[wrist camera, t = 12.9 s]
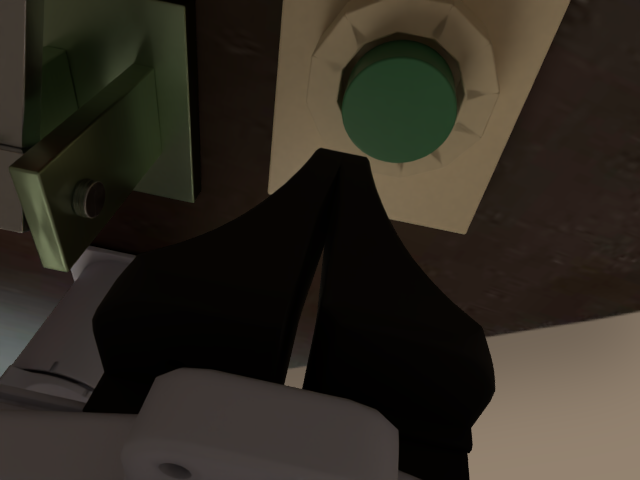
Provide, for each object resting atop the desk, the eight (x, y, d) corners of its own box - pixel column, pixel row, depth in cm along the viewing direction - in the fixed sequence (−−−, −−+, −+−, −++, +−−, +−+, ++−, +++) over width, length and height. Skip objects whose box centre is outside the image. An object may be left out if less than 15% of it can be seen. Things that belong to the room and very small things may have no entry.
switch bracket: (10, -39, 20) (-222, 38, 13) (195, -3, 20) (66, 96, 13) (62, 162, 27) (-72, 288, 20) (201, 191, 27) (119, 329, 19)
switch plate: (463, 214, 25) (468, 259, 22) (274, 175, 25) (258, 216, 23) (575, -48, 17) (604, -25, 14) (299, -101, 17) (277, -87, 15)
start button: (436, 149, 19) (437, 173, 18) (338, 130, 20) (333, 152, 18) (470, 51, 17) (474, 70, 15) (357, 28, 17) (352, 45, 16)
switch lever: (8, -142, 16) (-75, -201, 13) (100, -125, 16) (39, -180, 13) (4, 203, 19) (-63, 220, 16) (81, 219, 19) (28, 240, 16)
